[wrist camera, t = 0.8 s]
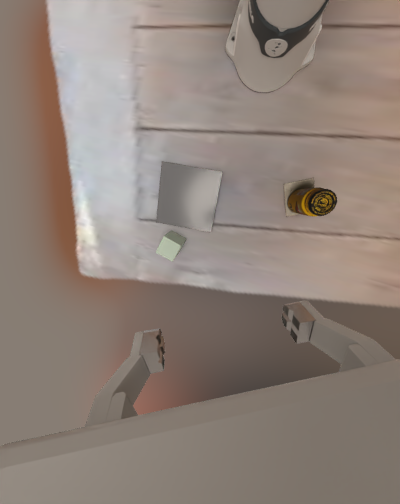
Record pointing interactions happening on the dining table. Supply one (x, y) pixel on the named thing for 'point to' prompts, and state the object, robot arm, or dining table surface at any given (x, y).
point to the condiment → (308, 199)
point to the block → (171, 245)
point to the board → (188, 196)
